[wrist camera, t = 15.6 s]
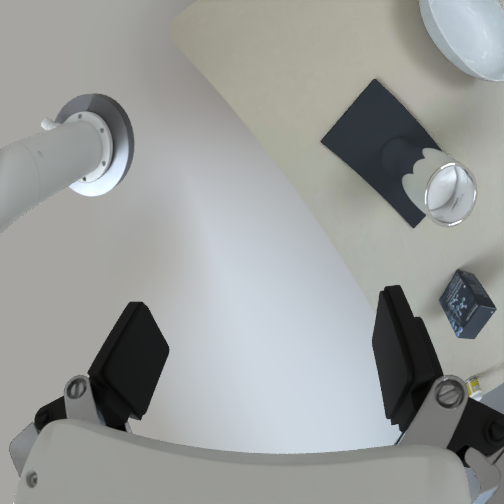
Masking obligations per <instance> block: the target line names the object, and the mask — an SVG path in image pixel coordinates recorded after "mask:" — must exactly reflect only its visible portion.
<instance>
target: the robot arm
mask: <svg viewBox="0 0 504 504" xmlns="http://www.w3.org/2000/svg"><path fill="white" fill-rule="evenodd" d="M41 126H42V127H43V128H44V129H46V130H47V131H45V132H42V133H39V134H36V135H33V136H31V137H28V138H25V139H22V140H20V141H17V142H14V143H12V144H9V145H7V146H5V147H3V148H2V149H0V235H1V234H2V233H3V232H4V231H5V230H6V229H7V228H8V227H9V226H10V225H11V224H12V223H13V222H14V221H16V220H17V219H19V218H20V217H21V216H23V215H24V214H25V213H27V212H28V211H30V210H31V209H33V208H34V207H36V206H37V205H39V204H40V203H42V202H43V201H45V200H46V199H48V198H49V197H51V196H53V195H54V194H56V193H57V192H59V191H61V190H62V189H64V188H66V187H67V186H69V185H71V184H72V183H74V182H76V181H78V182H81V183H89V182H93V181H95V180H97V179H99V178H100V177H101V176H103V175H104V174H105V172H106V171H107V170H108V168H109V166H110V164H111V160H112V157H113V139H112V135H111V132H110V129H109V127H108V125H107V124H106V122H105V121H104V120H103V119H102V118H101V117H100V116H99V115H98V114H96V113H93V112H89V111H82V112H78V113H75V114H73V115H71V116H70V117H69V118H68V119H67V120H66V121H65V122H64V123H63V124H60V123H55V122H54V121H52V120H51V119H49V118H45V119H44V120H43V121H42V123H41ZM372 346H373V351H374V355H375V360H376V365H377V370H378V375H379V380H380V386H381V391H382V396H383V402H384V409H385V415H386V418H387V419H391V425H396V424H399V430H400V431H401V432H402V433H401V434H400V436H399V437H398V439H397V440H396V442H395V443H394V445H392V446H384V447H375V448H367V449H358V450H349V451H340V452H339V451H338V452H325V453H306V454H262V453H244V452H243V453H242V452H232V451H221V450H213V449H212V450H211V449H205V448H198V447H191V446H185V445H180V444H174V443H169V442H164V441H160V440H155V439H151V438H146V437H142V436H138V435H135V434H132V431H131V428H130V426H129V423H128V418H129V417H130V418H133V419H136V420H141V419H142V416H143V415H144V414H145V413H146V411H147V409H148V406H149V404H150V401H151V398H152V396H153V393H154V390H155V388H156V385H157V383H158V380H159V377H160V375H161V372H162V370H163V367H164V365H165V362H166V359H167V357H168V354H169V346H168V344H167V342H166V340H165V338H164V337H163V335H162V333H161V331H160V329H159V328H158V326H157V324H156V322H155V320H154V318H153V316H152V314H151V312H150V310H149V308H148V307H147V306H146V305H145V304H144V303H143V302H129V303H128V305H127V306H126V308H125V309H124V311H123V313H122V314H121V316H120V317H119V319H118V321H117V322H116V324H115V326H114V327H113V329H112V330H111V332H110V334H109V336H108V337H107V339H106V341H105V343H104V344H103V346H102V348H101V349H100V351H99V353H98V354H97V356H96V358H95V360H94V362H93V363H92V365H91V367H90V369H89V370H88V374H89V375H90V377H89V379H88V378H87V377H86V376H84V375H78V376H75V377H73V378H71V379H70V380H69V381H68V383H67V384H66V386H65V389H64V396H62V397H60V398H59V399H57V400H55V401H53V402H51V403H49V404H47V405H45V406H43V407H42V408H40V409H39V411H38V412H37V414H36V415H35V423H33V422H31V423H30V424H29V425H28V426H27V427H26V428H25V429H24V430H23V431H22V432H21V433H20V434H18V435H17V436H16V437H15V438H14V439H13V441H12V442H11V444H10V447H9V451H10V455H11V458H12V460H13V463H14V465H15V467H16V470H17V472H18V474H19V476H20V480H19V483H18V486H17V489H16V493H15V496H14V500H13V504H471V496H470V489H469V484H468V479H467V475H466V472H465V469H464V467H467V468H470V467H471V468H472V469H473V471H474V472H475V473H476V474H475V477H476V478H477V479H478V481H479V483H480V492H479V495H478V497H477V498H476V500H475V501H474V502H473V503H472V504H504V414H502V413H500V412H498V411H496V410H494V409H492V408H490V407H488V406H486V405H484V404H482V403H480V402H478V401H476V400H474V399H473V398H471V397H469V392H468V388H467V385H466V383H465V382H464V381H463V380H462V379H461V378H459V377H457V376H454V375H445V376H444V374H443V371H442V369H441V366H440V363H439V360H438V357H437V355H436V352H435V349H434V347H433V344H432V342H431V339H430V337H429V334H428V332H427V329H426V327H425V324H424V322H423V320H422V318H420V317H414V316H413V313H412V311H411V308H410V306H409V304H408V301H407V299H406V297H405V295H404V292H403V290H402V288H401V286H400V285H394V286H386V287H385V288H384V291H380V294H379V301H378V308H377V314H376V320H375V326H374V332H373V337H372Z"/></svg>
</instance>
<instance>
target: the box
mask: <svg viewBox="0 0 504 504" xmlns="http://www.w3.org/2000/svg"><path fill="white" fill-rule="evenodd" d="M439 302H440V304H441V306H442V308H443V309H444V312H445V313H446V315H447V317H448V320H449V322H450V324H451V326H452V328H453V330H454V332H455V334H456V337H457V338H466V339H475V338H476V336H477V335H478V333H479V332H480V331H481V329H482V328H483V327H484V325H485V324H486V323H487V321H488V320H489V319H490V317H491V316H492V315H493V313H494V312H495V311H496V310H497V308H496V307H495V305H494V304H493V302H492V301H491V299H490V297H489V296H488V294H487V293H486V291H485V290H484V288H483V287H482V285H481V284H480V282H479V281H478V279H477V278H476V277H475V275H474V274H471V273H468V272H464V271H461V270H457V271H456V273H455V275H454V277H453V278H452V280H451V282H450V283H449V285H448V287H447V288H446V290H445V292H444V293H443V295H442V296H441V298H440V299H439Z"/></svg>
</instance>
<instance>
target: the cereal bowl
mask: <svg viewBox="0 0 504 504" xmlns="http://www.w3.org/2000/svg"><path fill="white" fill-rule="evenodd" d="M419 7H420V12H421V16H422V19H423V22H424V25H425V27H426V29H427V31H428V33H429V35H430V37H431V38H432V40H433V42H434V43H435V44H436V46H437V47H438V48H439V50H440V51H441V52H442V53H443V54H444V55H445V56H446V58H447V59H448V60H450V61H451V63H453V64H454V65H455V66H456V67H458V68H459V69H460V70H462V71H464V72H465V73H467V74H469V75H471V76H473V77H475V78H478V79H481V80H486V81H491V82H501V81H504V10H503V8H502V7H501V6H500V4H499V3H498V2H497V0H419Z"/></svg>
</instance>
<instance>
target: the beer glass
mask: <svg viewBox="0 0 504 504" xmlns="http://www.w3.org/2000/svg"><path fill="white" fill-rule="evenodd" d="M381 165H382V167H383V169H384V171H385V172H386V173H387V174H388V175H389V176H390V177H392V178H394V179H397V180H398V181H399V183H400V185H401V186H402V188H403V190H404V192H405V193H406V195H407V196H408V198H409V199H410V200H411V201H412V202H413V204H414V205H415V206H416V207H417V208H418V209H420V210H421V211H422V212H423V213H424V214H425V215H427V216H428V217H429V218H430V219H431V220H432V221H433V222H434V223H436V224H437V225H439V226H442V227H452V226H455V225H458V224H460V223H461V222H463V221H464V220H465V219H466V218H467V217H468V216H469V214H470V213H471V211H472V210H473V208H474V205H475V202H476V198H477V184H476V180H475V177H474V175H473V173H472V172H471V171H470V170H469V168H467V167H466V166H465V165H463V164H461V163H460V162H459V161H457V160H456V159H454V158H453V157H451V156H449V155H448V154H446V153H444V152H442V151H439V150H437V149H433V148H428V147H418V146H415V145H414V144H413V143H412V142H411V141H409V140H408V139H405V138H394V139H391V140H389V141H388V142H387V143H386V144H385V145H384V147H383V149H382V151H381Z"/></svg>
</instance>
